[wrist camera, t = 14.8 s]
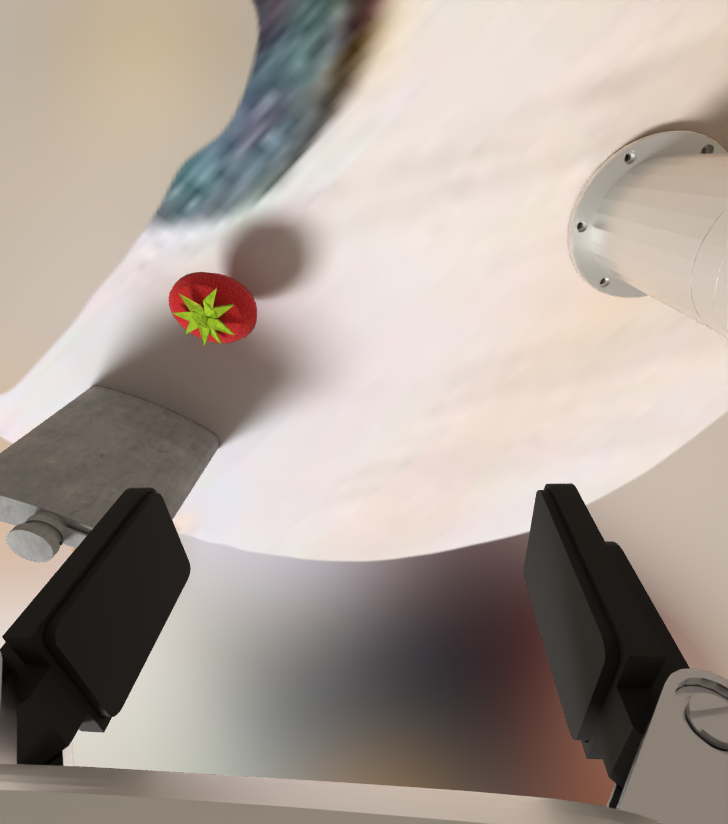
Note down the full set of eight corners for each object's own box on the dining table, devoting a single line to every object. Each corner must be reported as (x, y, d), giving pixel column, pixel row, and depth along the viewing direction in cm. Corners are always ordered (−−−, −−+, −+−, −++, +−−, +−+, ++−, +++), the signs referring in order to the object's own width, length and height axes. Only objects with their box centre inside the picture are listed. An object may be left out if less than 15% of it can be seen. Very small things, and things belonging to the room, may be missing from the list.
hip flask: (86, 403, 50) (-79, 530, 33) (89, 375, 48) (-84, 494, 31) (215, 455, 53) (125, 598, 35) (224, 430, 51) (133, 569, 33)
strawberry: (200, 248, 40) (145, 272, 31) (278, 275, 41) (245, 306, 32) (193, 307, 43) (141, 344, 34) (266, 331, 44) (233, 373, 35)
